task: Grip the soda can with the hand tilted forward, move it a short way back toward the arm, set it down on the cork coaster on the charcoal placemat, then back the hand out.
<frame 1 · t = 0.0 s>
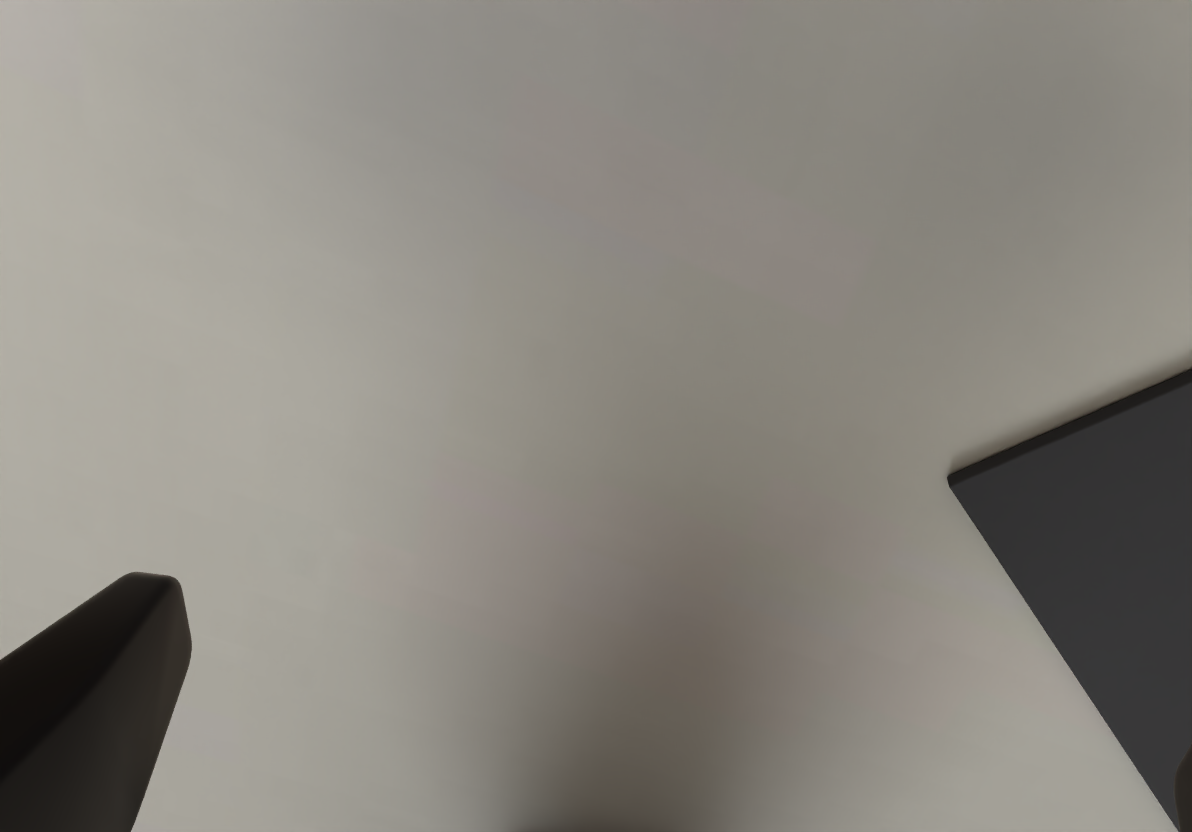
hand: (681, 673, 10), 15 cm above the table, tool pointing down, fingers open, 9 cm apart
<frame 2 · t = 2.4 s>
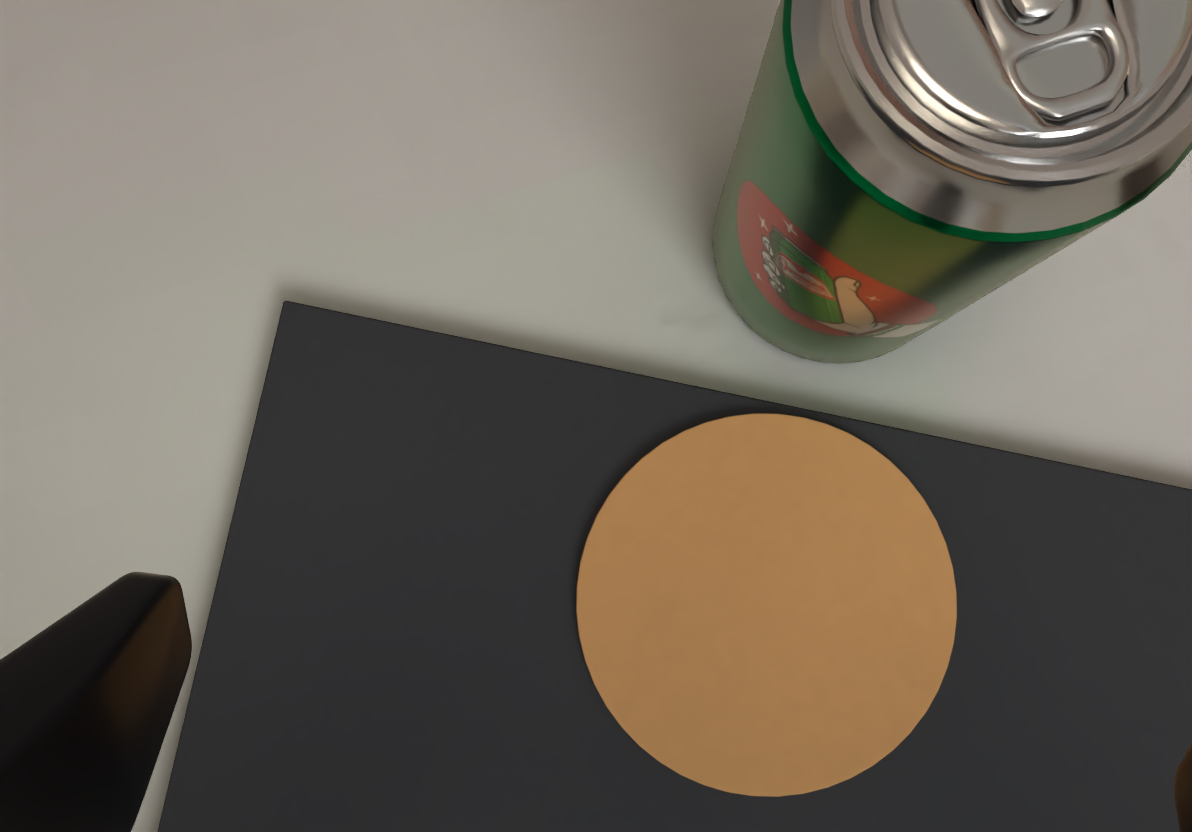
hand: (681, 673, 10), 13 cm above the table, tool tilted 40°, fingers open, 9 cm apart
soda can: (829, 250, 24), on the table
placemat: (738, 721, 23), on the table
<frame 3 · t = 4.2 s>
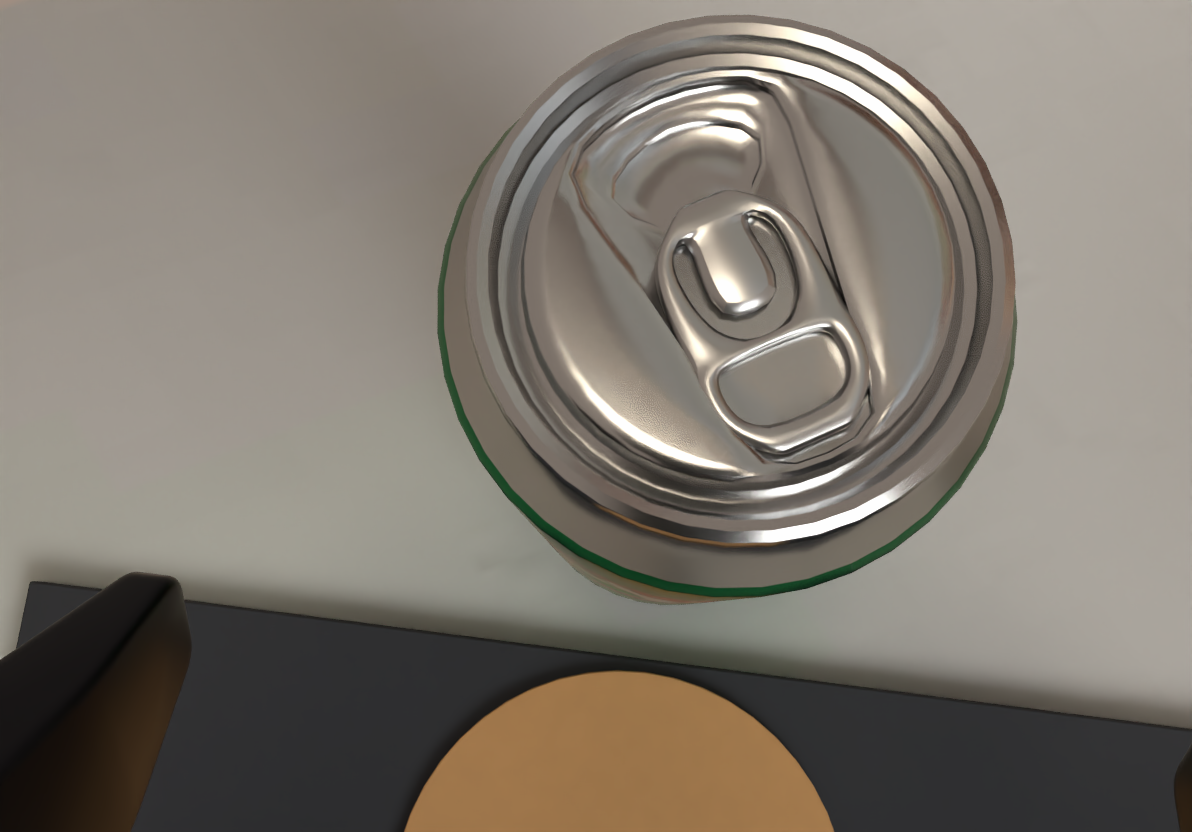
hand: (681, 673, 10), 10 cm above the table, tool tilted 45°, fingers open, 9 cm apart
soda can: (666, 466, 21), on the table
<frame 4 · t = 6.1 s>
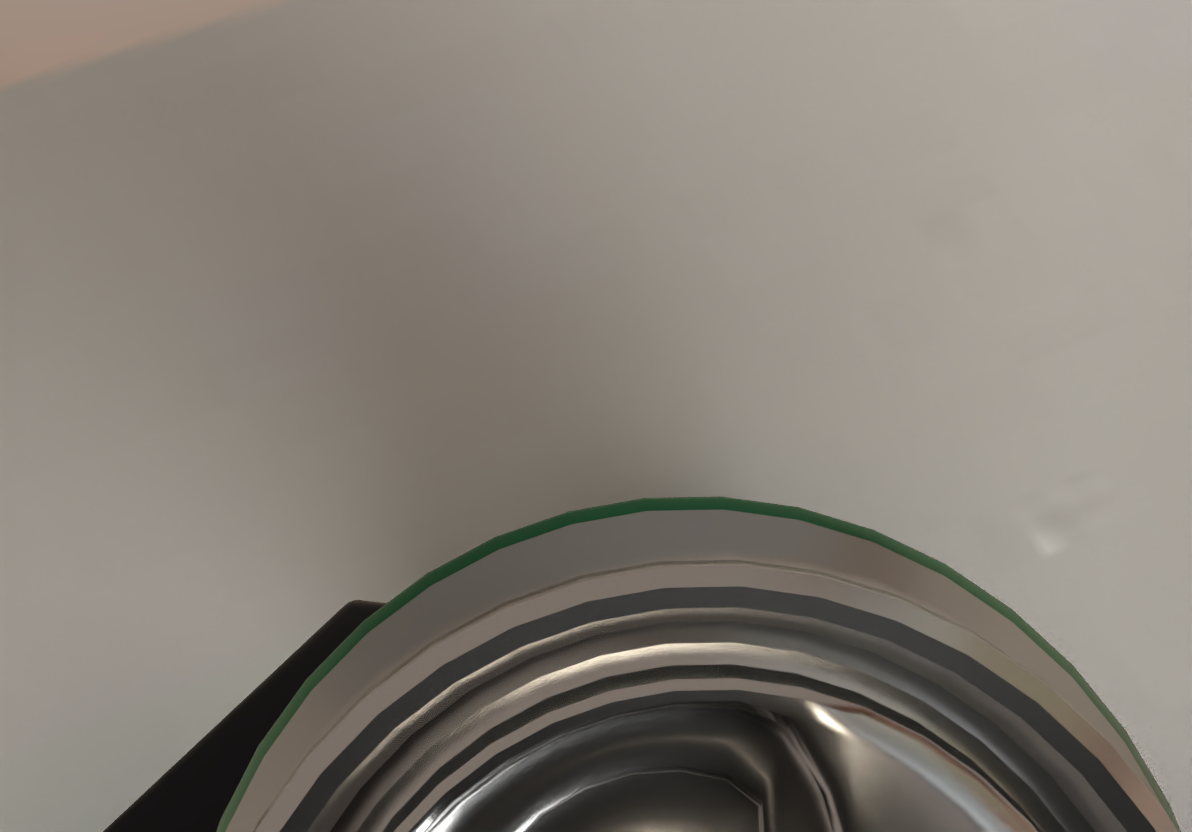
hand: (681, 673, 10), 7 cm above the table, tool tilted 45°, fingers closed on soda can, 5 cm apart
soda can: (641, 743, 16), on the table, touching gripper
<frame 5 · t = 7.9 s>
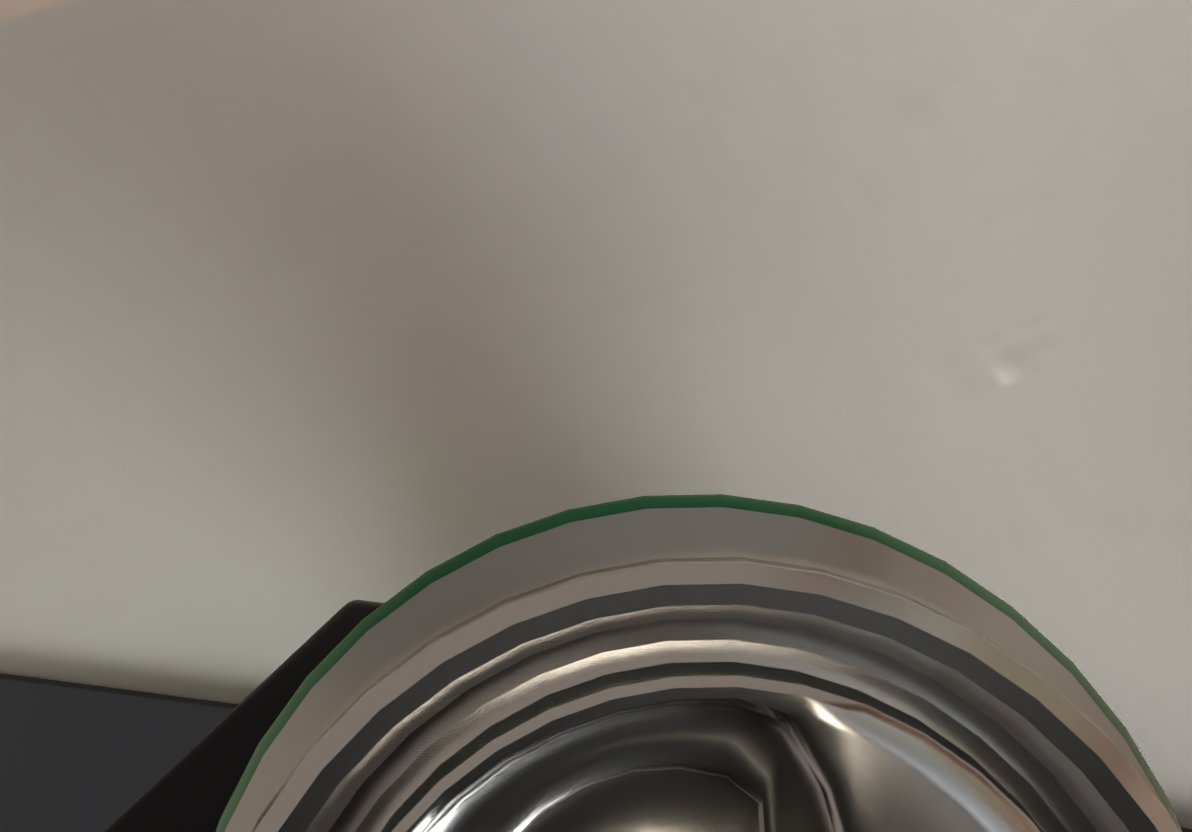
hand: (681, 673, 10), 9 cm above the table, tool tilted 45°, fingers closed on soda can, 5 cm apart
soda can: (641, 742, 16), point 2 cm above the table, touching gripper
when the fingers open (7 cm above the table, at t = 10.1 s): soda can stays where it is, resting on placemat.
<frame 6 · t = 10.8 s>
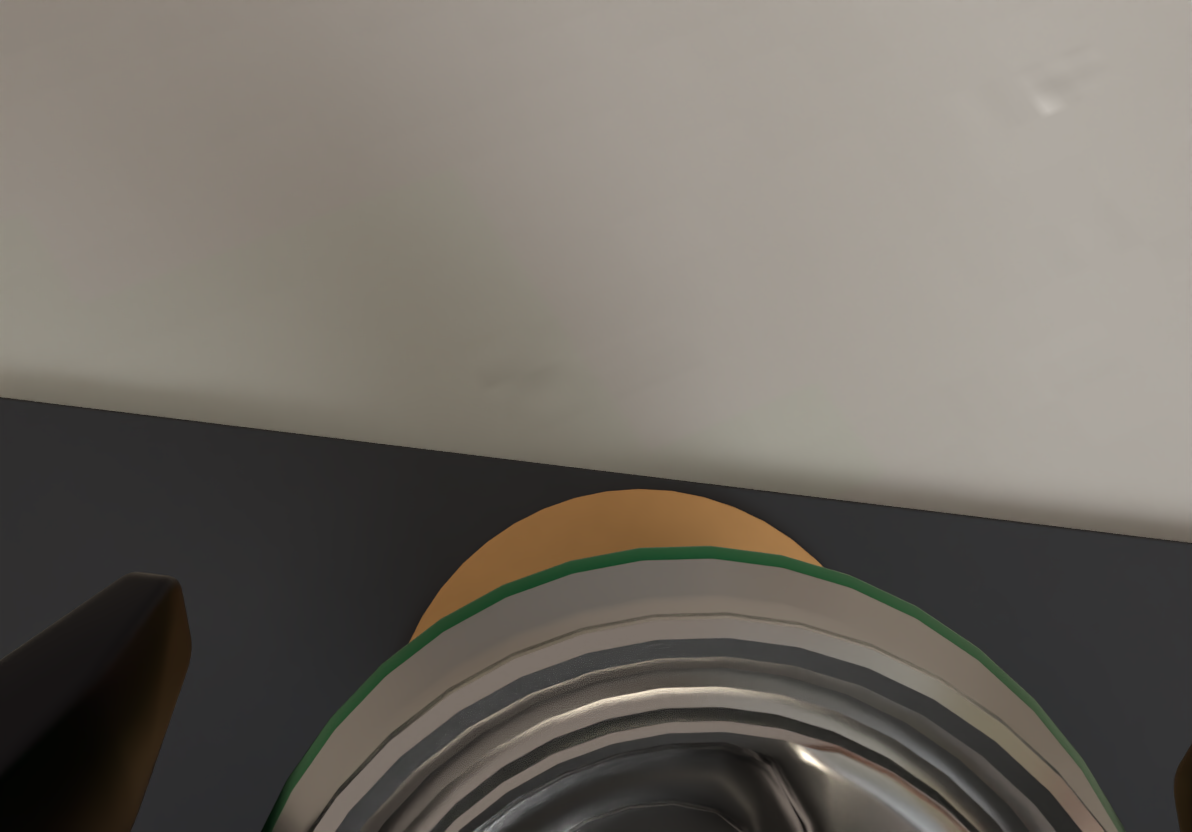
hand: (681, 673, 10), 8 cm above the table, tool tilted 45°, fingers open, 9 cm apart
soda can: (640, 755, 17), resting on placemat
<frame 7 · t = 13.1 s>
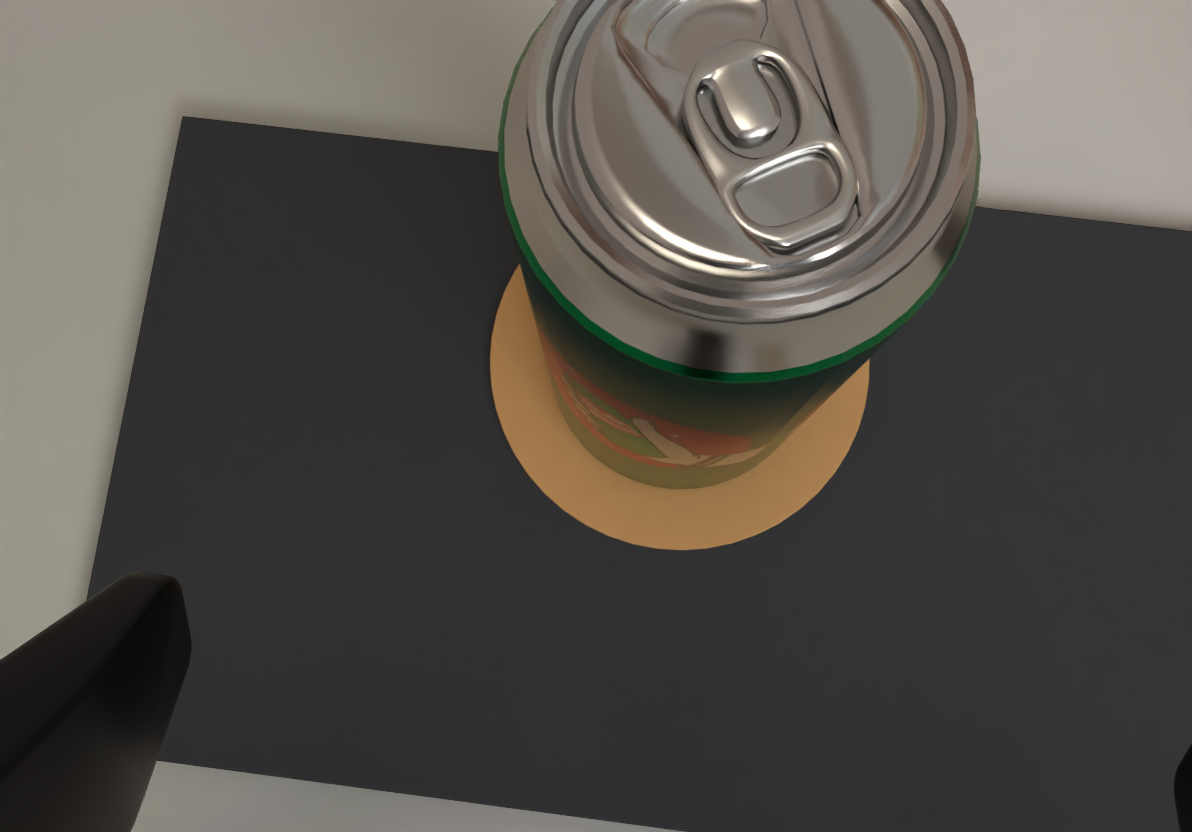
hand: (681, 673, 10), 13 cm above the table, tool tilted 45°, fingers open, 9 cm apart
soda can: (677, 368, 23), resting on placemat
placemat: (663, 485, 23), on the table
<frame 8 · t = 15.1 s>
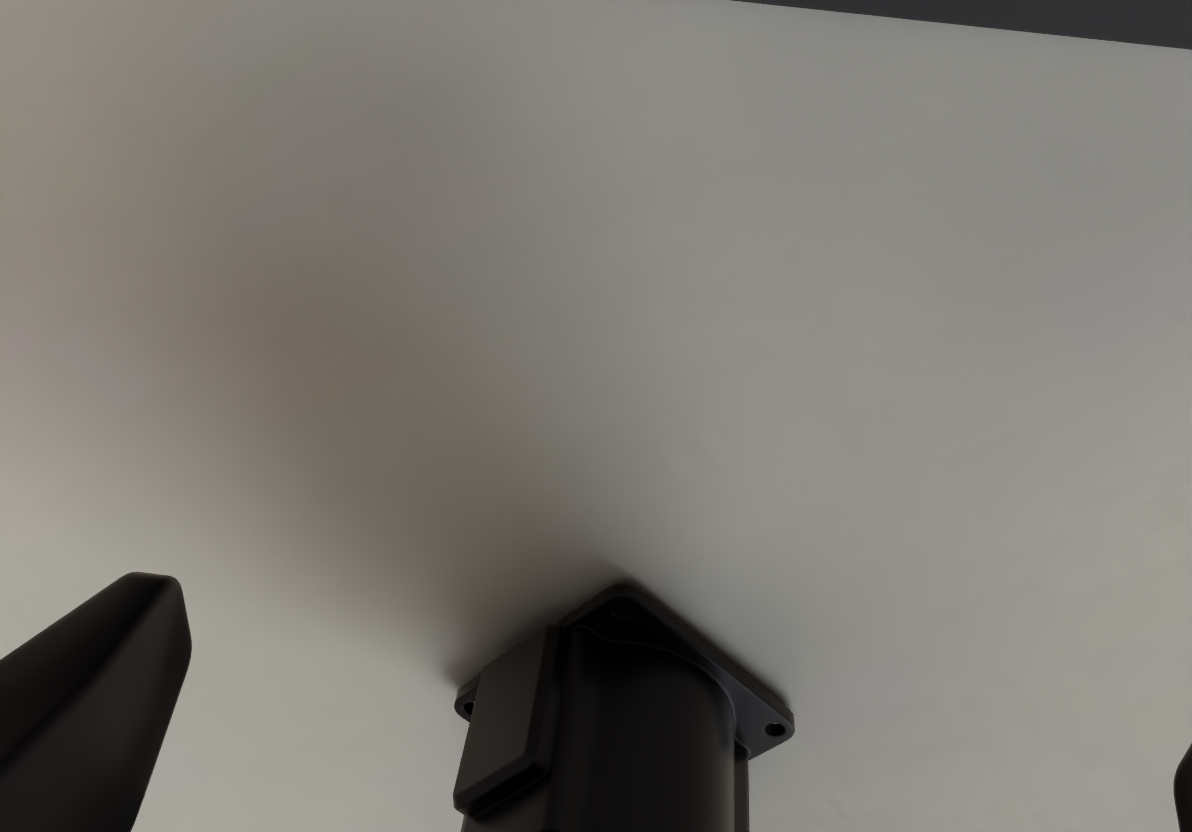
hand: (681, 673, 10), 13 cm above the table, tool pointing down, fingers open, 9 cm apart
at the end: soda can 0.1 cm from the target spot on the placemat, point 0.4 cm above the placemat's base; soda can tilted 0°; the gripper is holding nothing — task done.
